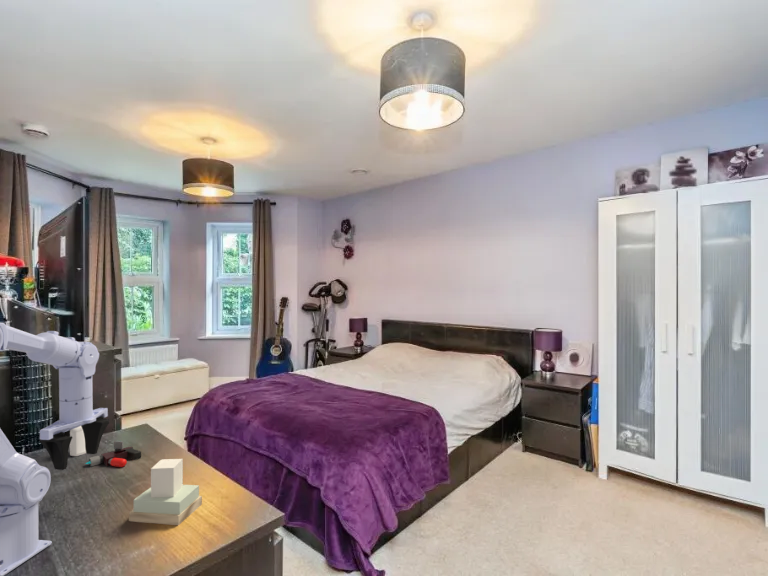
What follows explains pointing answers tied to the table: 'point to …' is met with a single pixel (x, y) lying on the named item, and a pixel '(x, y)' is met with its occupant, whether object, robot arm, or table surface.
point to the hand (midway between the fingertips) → (76, 460)
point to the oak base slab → (165, 515)
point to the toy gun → (116, 456)
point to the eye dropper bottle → (77, 442)
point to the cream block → (166, 478)
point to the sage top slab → (167, 501)
